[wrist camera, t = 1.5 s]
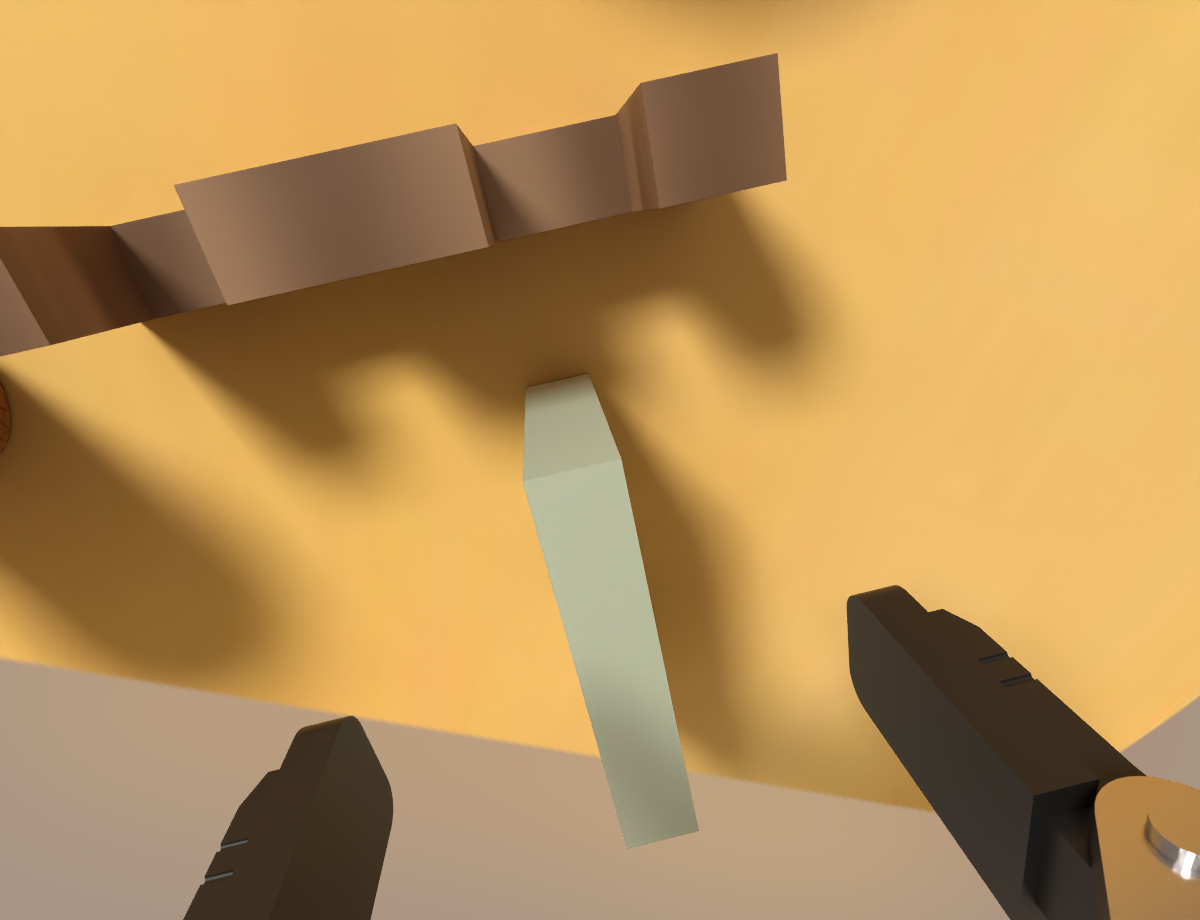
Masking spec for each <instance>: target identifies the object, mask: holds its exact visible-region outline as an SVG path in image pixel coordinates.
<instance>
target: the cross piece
mask: <svg viewBox="0 0 1200 920" xmlns="http://www.w3.org/2000/svg"><path fill="white" fill-rule="evenodd" d="M523 485H524V488H525V492H526V495H527V499H528V502H529V506H530V509H531V513H532V516H533V520H534V523H535V527H536V530H537V534H538V537H539V541H540V544H541V548H542V551H543V555H544V559H545V562H546V566H547V569H548V573H549V576H550V580H551V583H552V587H553V590H554V594H555V597H556V601H557V604H558V608H559V611H560V615H561V618H562V622H563V625H564V629H565V632H566V636H567V640H568V643H569V647H570V650H571V654H572V657H573V661H574V664H575V668H576V671H577V675H578V678H579V682H580V685H581V689H582V692H583V696H584V699H585V703H586V706H587V710H588V713H589V717H590V721H591V724H592V728H593V731H594V735H595V738H596V742H597V745H598V749H599V752H600V756H601V759H602V763H603V766H604V770H605V773H606V777H607V780H608V784H609V787H610V791H611V794H612V798H613V801H614V805H615V808H616V812H617V816H618V819H619V823H620V826H621V830H622V833H623V837H624V840H625V843H626V847H627V849H628V848H632V847H636V846H640V845H644V844H648V843H652V842H656V841H660V840H664V839H668V838H673V837H676V836H681V835H685V834H689V833H693V832H696V831H699V830H698V825H697V821H696V816H695V811H694V807H693V801H692V797H691V792H690V787H689V782H688V777H687V772H686V768H685V763H684V758H683V753H682V748H681V744H680V739H679V734H678V729H677V724H676V720H675V715H674V710H673V705H672V700H671V695H670V691H669V686H668V681H667V676H666V671H665V667H664V662H663V657H662V652H661V647H660V642H659V638H658V633H657V628H656V623H655V618H654V614H653V609H652V604H651V599H650V594H649V590H648V585H647V580H646V575H645V570H644V565H643V561H642V556H641V551H640V546H639V541H638V537H637V532H636V527H635V522H634V517H633V512H632V508H631V503H630V498H629V493H628V488H627V484H626V479H625V474H624V469H623V464H622V460H621V457H620V454H619V451H618V449H617V446H616V444H615V441H614V438H613V436H612V433H611V431H610V428H609V425H608V423H607V420H606V418H605V415H604V412H603V410H602V407H601V405H600V402H599V399H598V397H597V394H596V392H595V389H594V386H593V384H592V381H591V379H590V376H589V373H588V374H584V375H580V376H575V377H571V378H566V379H562V380H558V381H553V382H549V383H545V384H540V385H536V386H532V387H527V388H526V394H525V426H524V458H523Z"/></svg>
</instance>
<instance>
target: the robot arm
mask: <svg viewBox="0 0 1200 920" xmlns="http://www.w3.org/2000/svg"><path fill="white" fill-rule="evenodd" d="M847 623H848V645H849V666H850V674H851V678H852V682H853V685H854V688H855V691H856V693H857V696H858V698H859V700H860V702H861V704H862V706H863V707H864V709H865V710H866V712H867V713H868V715H869V716H870V718H871V719H872V721H873V722H874V723H875V725H876V726H877V728H878V729H879V731H880V732H881V734H882V735H883V736H884V738H885V739H886V741H887V742H888V744H889V745H890V746H891V748H892V749H893V751H894V752H895V754H896V755H897V757H898V758H899V759H900V761H901V762H902V764H903V765H904V767H905V768H906V770H907V771H908V772H909V774H910V775H911V777H912V778H913V780H914V781H915V783H916V784H917V785H918V787H919V788H920V790H921V791H922V793H923V794H924V796H925V797H926V798H927V800H928V801H929V803H930V804H931V806H932V807H933V809H934V810H935V811H936V813H937V814H938V816H939V817H940V818H941V820H942V821H943V823H944V824H945V826H946V827H947V829H948V830H949V832H950V833H951V834H952V836H953V837H954V839H955V840H956V842H957V843H958V845H959V846H960V847H961V849H962V850H963V852H964V853H965V855H966V856H967V858H968V859H969V860H970V862H971V863H972V865H973V866H974V868H975V869H976V870H977V872H978V873H979V875H980V876H981V878H982V879H983V880H984V882H985V883H986V885H987V886H988V888H989V889H990V891H991V892H992V893H993V895H994V896H995V898H996V899H997V901H998V902H999V904H1000V905H1001V907H1002V908H1003V909H1004V911H1005V912H1006V914H1007V915H1008V917H1009V918H1010V920H1200V790H1197V789H1194V788H1192V787H1189V786H1187V785H1184V784H1181V783H1177V782H1174V781H1171V780H1166V779H1161V778H1156V777H1147V776H1146V775H1145V774H1143V773H1142V772H1141V771H1140V770H1139V769H1137V768H1136V767H1135V766H1134V765H1133V764H1131V763H1130V762H1129V761H1128V760H1127V759H1126V758H1125V757H1123V755H1121V754H1120V753H1119V752H1118V751H1117V750H1116V749H1115V748H1114V747H1112V746H1111V745H1110V744H1109V743H1108V742H1107V741H1106V740H1105V739H1104V738H1102V737H1101V736H1100V735H1099V734H1098V733H1097V732H1096V731H1095V730H1093V729H1092V728H1091V727H1090V726H1089V725H1088V724H1087V723H1086V722H1085V721H1083V720H1082V719H1081V718H1080V717H1079V716H1078V715H1077V714H1076V713H1074V712H1073V711H1072V710H1071V709H1070V708H1069V707H1068V706H1067V705H1066V704H1064V703H1063V702H1062V701H1061V700H1060V699H1059V698H1058V697H1057V696H1055V695H1054V694H1053V693H1052V692H1051V691H1050V690H1049V689H1048V688H1047V687H1045V686H1044V685H1043V684H1042V683H1041V682H1040V681H1039V680H1038V679H1036V680H1034V679H1033V678H1032V676H1031V673H1030V672H1029V671H1028V670H1026V669H1025V668H1024V667H1023V666H1022V665H1021V664H1020V663H1019V662H1017V661H1016V660H1015V659H1014V658H1013V657H1011V658H1010V657H1009V656H1008V655H1007V652H1006V651H1005V650H1004V649H1003V648H1002V647H1001V646H1000V645H998V644H997V643H996V642H995V641H994V640H993V639H992V638H991V637H990V636H988V635H987V634H986V633H985V632H984V631H983V630H982V629H981V628H979V627H978V626H976V625H974V624H972V623H970V622H968V621H966V620H964V619H962V618H960V617H958V616H956V615H954V614H952V613H950V612H948V611H946V610H944V609H940V610H936V611H932V612H927V611H926V610H925V609H924V608H923V607H922V606H921V605H920V604H919V603H918V602H917V601H916V600H915V599H914V598H913V597H912V596H911V595H910V594H909V593H908V592H907V591H906V590H905V589H903V588H902V587H900V586H897V585H893V586H889V587H885V588H881V589H877V590H873V591H869V592H865V593H860V594H856V595H852V596H850V597H849V598H848V601H847ZM392 817H393V798H392V792H391V787H390V784H389V781H388V779H387V777H386V775H385V773H384V770H383V768H382V767H381V764H380V762H379V760H378V758H377V756H376V754H375V752H374V750H373V748H372V746H371V744H370V742H369V740H368V738H367V736H366V734H365V732H364V730H363V727H362V725H361V724H360V722H359V721H358V719H357V718H355V717H354V716H347V717H343V718H339V719H335V720H331V721H327V722H323V723H319V724H315V725H310V726H306V727H304V728H302V729H300V730H299V731H298V732H297V734H296V735H295V737H294V739H293V741H292V744H291V746H290V748H289V750H288V752H287V754H286V757H285V759H284V761H283V763H282V765H281V768H280V769H279V770H275V771H271V772H268V773H267V774H266V775H265V777H264V778H263V779H262V780H261V781H260V783H259V784H258V785H257V786H256V788H255V789H254V790H253V791H252V792H251V793H250V794H249V796H248V797H247V798H246V800H244V802H243V803H242V804H241V805H240V807H239V808H238V810H237V812H236V814H235V816H234V818H233V820H232V822H231V825H230V826H229V828H228V830H227V832H226V834H225V836H224V838H223V840H222V842H221V851H220V852H216V854H215V857H214V859H213V861H212V863H211V865H210V867H209V869H208V871H207V873H206V875H205V883H204V884H203V885H200V887H199V889H198V891H197V893H196V895H195V897H194V899H193V901H192V903H191V905H190V907H189V909H188V911H187V913H186V915H185V917H184V919H183V920H370V919H371V915H372V910H373V905H374V901H375V897H376V892H377V888H378V883H379V879H380V875H381V870H382V866H383V861H384V857H385V853H386V848H387V844H388V839H389V835H390V831H391V826H392V819H393V818H392Z"/></svg>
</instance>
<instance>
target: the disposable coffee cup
mask: <svg viewBox="0 0 1200 920" xmlns="http://www.w3.org/2000/svg"><path fill="white" fill-rule="evenodd" d="M10 422H11V419H10V412H9V405H8V401H7V398H6V395H5V392H4V390H3V388H2V387H1V385H0V454H1V453H2V452H3V450H4V447H5V445H6V443H7V441H8V439H9V431H10Z"/></svg>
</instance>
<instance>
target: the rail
mask: <svg viewBox="0 0 1200 920" xmlns="http://www.w3.org/2000/svg"><path fill="white" fill-rule="evenodd" d="M785 180H787V178H786V164H785V150H784V137H783V123H782V109H781V96H780V82H779V68H778V54H777V53H776V54H772V55H767V56H762V57H758V58H753V59H749V60H744V61H740V62H735V63H730V64H726V65H721V66H717V67H712V68H708V69H703V70H698V71H694V72H689V73H685V74H680V75H676V76H671V77H666V78H662V79H657V80H653V81H648V82H644V83H640V85H639V86H638V87H637V88H636V90H635V91H634V92H633V94H632V95H631V96H630V97H629V99H628V100H627V101H626V103H625V104H624V105H623V106H622V108H621V109H620V110H619V112H618V113H617V114H616V115H614V116H609V117H605V118H600V119H596V120H591V121H587V122H582V123H577V124H573V125H568V126H564V127H559V128H555V129H550V130H546V131H541V132H537V133H532V134H527V135H523V136H518V137H514V138H509V139H505V140H500V141H496V142H491V143H487V144H482V145H477V146H473V145H472V144H471V143H470V141H469V140H468V139H467V137H466V136H465V135H464V133H463V132H462V131H461V129H460V128H459V127H458V125H457V124H452V125H447V126H442V127H438V128H433V129H429V130H424V131H420V132H415V133H410V134H406V135H401V136H397V137H392V138H388V139H383V140H378V141H374V142H369V143H365V144H360V145H356V146H351V147H346V148H342V149H337V150H333V151H328V152H324V153H319V154H314V155H310V156H305V157H301V158H296V159H292V160H287V161H282V162H278V163H273V164H269V165H264V166H260V167H255V168H250V169H246V170H241V171H237V172H232V173H228V174H223V175H218V176H214V177H209V178H205V179H200V180H196V181H191V182H186V183H182V184H177V185H174V186H175V189H176V191H177V193H178V195H179V198H180V200H181V202H182V204H183V207H184V209H185V210H182V211H177V212H173V213H168V214H164V215H159V216H154V217H150V218H145V219H141V220H136V221H132V222H127V223H123V224H118V225H114V226H78V227H0V356H4V355H8V354H13V353H17V352H22V351H26V350H31V349H35V348H40V347H44V346H49V345H53V344H57V343H61V342H65V341H69V340H73V339H76V338H80V337H84V336H88V335H92V334H96V333H100V332H104V331H108V330H112V329H116V328H120V327H124V326H128V325H132V324H136V323H140V322H144V321H148V320H152V319H155V318H160V317H164V316H169V315H173V314H178V313H182V312H187V311H191V310H196V309H200V308H205V307H209V306H214V305H218V304H222V303H226V304H227V305H232V304H236V303H241V302H245V301H250V300H254V299H259V298H263V297H267V296H272V295H276V294H281V293H285V292H290V291H294V290H299V289H303V288H308V287H312V286H317V285H321V284H326V283H330V282H334V281H339V280H343V279H348V278H352V277H357V276H361V275H366V274H370V273H375V272H379V271H384V270H388V269H392V268H397V267H401V266H406V265H410V264H415V263H419V262H424V261H428V260H433V259H437V258H442V257H446V256H451V255H455V254H459V253H464V252H468V251H473V250H477V249H482V248H486V247H489V246H491V245H493V244H495V243H497V242H499V241H504V240H508V239H513V238H517V237H522V236H526V235H531V234H535V233H540V232H544V231H549V230H553V229H558V228H562V227H566V226H571V225H575V224H580V223H584V222H589V221H593V220H598V219H602V218H607V217H611V216H616V215H620V214H625V213H629V212H635V211H644V210H652V209H660V208H665V207H669V206H674V205H678V204H683V203H687V202H692V201H696V200H701V199H705V198H710V197H714V196H718V195H723V194H727V193H732V192H736V191H741V190H745V189H750V188H754V187H759V186H763V185H768V184H772V183H777V182H781V181H785Z"/></svg>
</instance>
